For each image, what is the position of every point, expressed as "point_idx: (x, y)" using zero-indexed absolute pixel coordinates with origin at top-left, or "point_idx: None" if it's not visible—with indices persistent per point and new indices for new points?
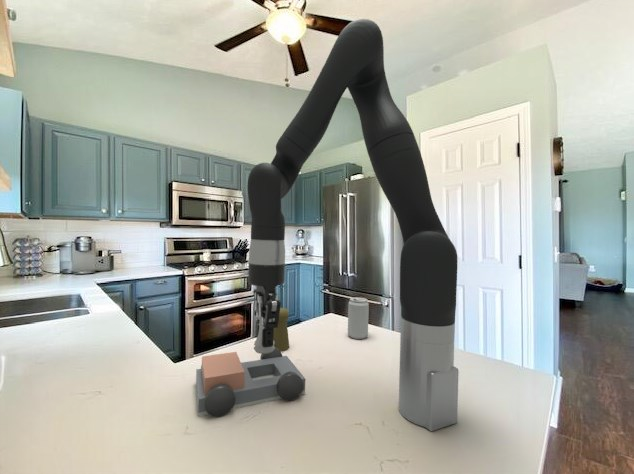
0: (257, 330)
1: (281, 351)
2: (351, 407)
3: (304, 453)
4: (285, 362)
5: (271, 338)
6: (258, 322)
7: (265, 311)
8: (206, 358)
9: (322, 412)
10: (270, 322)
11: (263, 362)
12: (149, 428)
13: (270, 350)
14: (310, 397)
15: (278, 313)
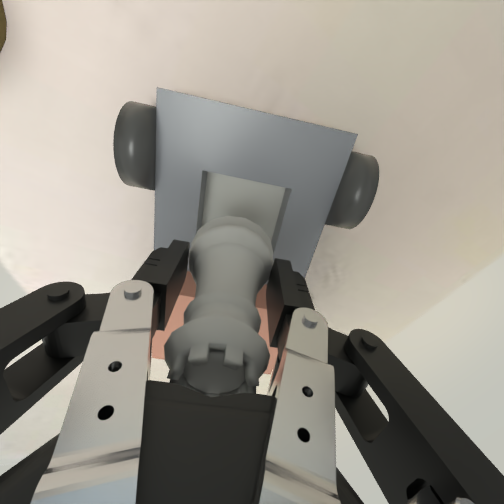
0: (175, 301)
1: (4, 15)
2: (496, 47)
3: (478, 244)
4: (214, 128)
5: (306, 292)
6: (164, 328)
7: (179, 375)
8: None
9: (436, 143)
10: (363, 388)
11: (179, 196)
12: (263, 373)
13: (270, 248)
14: (367, 128)
15: (468, 446)
